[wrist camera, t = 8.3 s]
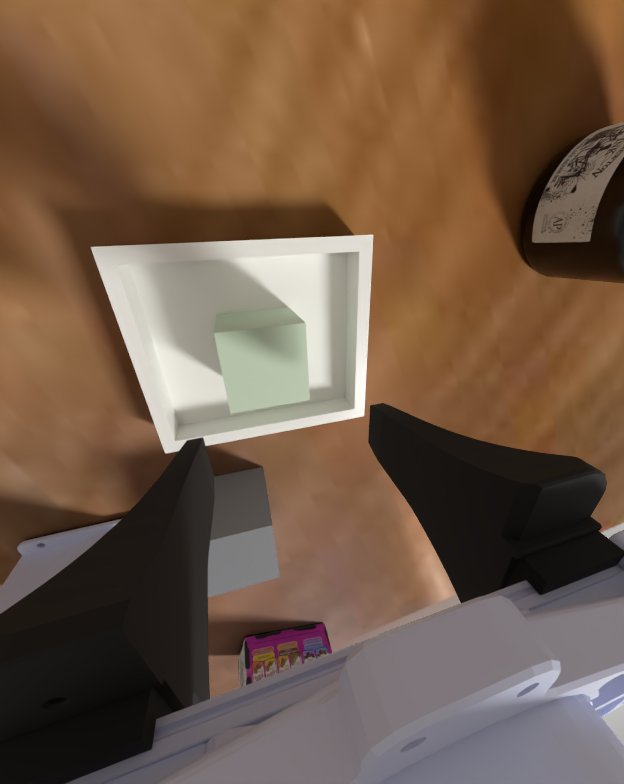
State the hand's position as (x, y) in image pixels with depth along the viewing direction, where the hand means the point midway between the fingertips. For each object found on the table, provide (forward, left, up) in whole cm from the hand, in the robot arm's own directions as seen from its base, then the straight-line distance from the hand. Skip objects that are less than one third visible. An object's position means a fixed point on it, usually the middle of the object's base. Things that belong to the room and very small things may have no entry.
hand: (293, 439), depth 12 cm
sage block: (0, +2, -9) cm, 9 cm away
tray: (0, +2, -9) cm, 9 cm away
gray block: (-4, -12, -10) cm, 16 cm away
